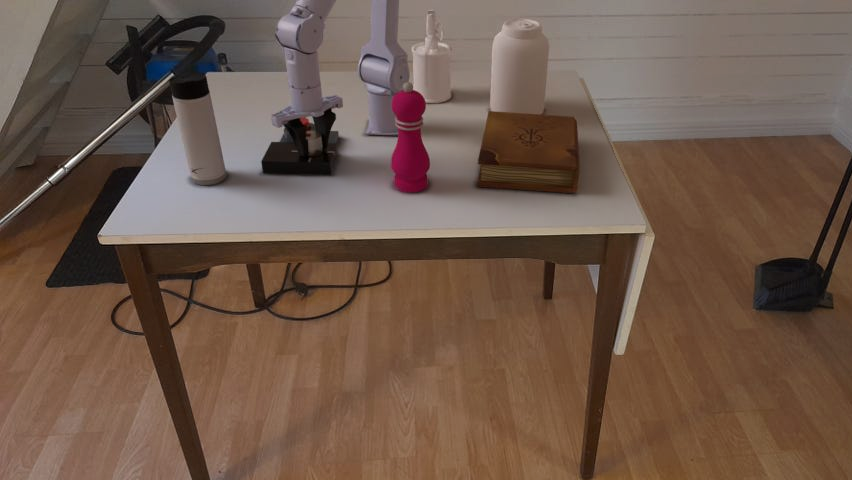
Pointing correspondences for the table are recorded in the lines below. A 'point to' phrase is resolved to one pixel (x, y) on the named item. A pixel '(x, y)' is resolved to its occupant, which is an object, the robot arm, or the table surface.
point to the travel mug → (198, 128)
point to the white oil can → (432, 64)
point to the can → (519, 68)
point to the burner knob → (314, 143)
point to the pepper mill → (409, 141)
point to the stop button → (305, 123)
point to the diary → (529, 152)
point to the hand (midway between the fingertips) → (312, 150)
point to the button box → (332, 137)
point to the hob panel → (298, 160)
